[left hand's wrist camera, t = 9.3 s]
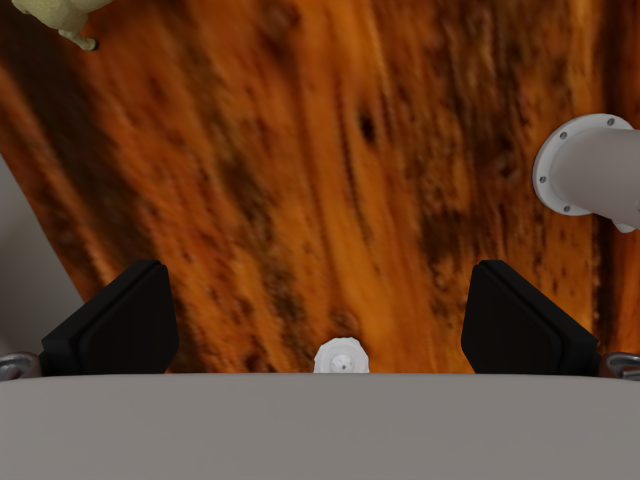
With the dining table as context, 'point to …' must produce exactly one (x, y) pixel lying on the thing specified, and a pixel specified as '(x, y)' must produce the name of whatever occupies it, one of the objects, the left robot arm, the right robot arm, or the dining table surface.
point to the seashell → (341, 357)
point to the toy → (64, 16)
